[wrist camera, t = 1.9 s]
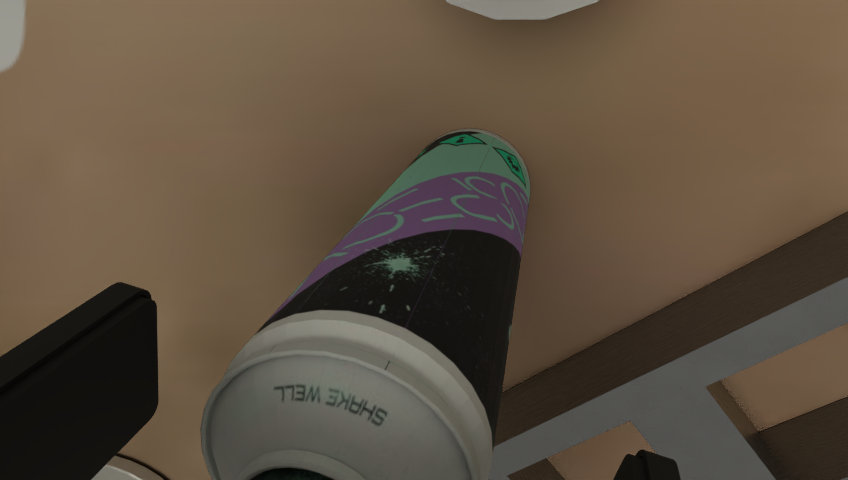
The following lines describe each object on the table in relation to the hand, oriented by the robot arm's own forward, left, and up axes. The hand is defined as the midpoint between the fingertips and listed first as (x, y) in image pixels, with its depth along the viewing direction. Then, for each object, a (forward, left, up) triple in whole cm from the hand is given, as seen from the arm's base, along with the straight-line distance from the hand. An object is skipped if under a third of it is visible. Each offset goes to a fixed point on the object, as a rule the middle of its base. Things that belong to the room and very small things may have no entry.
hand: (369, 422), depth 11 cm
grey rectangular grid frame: (+1, -15, -17) cm, 23 cm away
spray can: (-1, 0, -17) cm, 17 cm away
